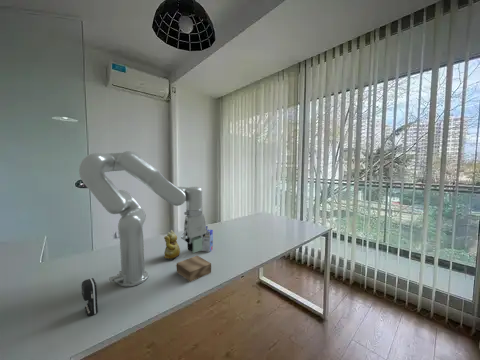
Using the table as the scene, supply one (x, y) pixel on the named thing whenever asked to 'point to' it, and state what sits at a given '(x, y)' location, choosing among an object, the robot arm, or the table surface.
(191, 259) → the walnut block
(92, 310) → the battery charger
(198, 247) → the sage block
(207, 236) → the ink cartridge box
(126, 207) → the robot arm
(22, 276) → the table surface
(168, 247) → the decorative figurine
